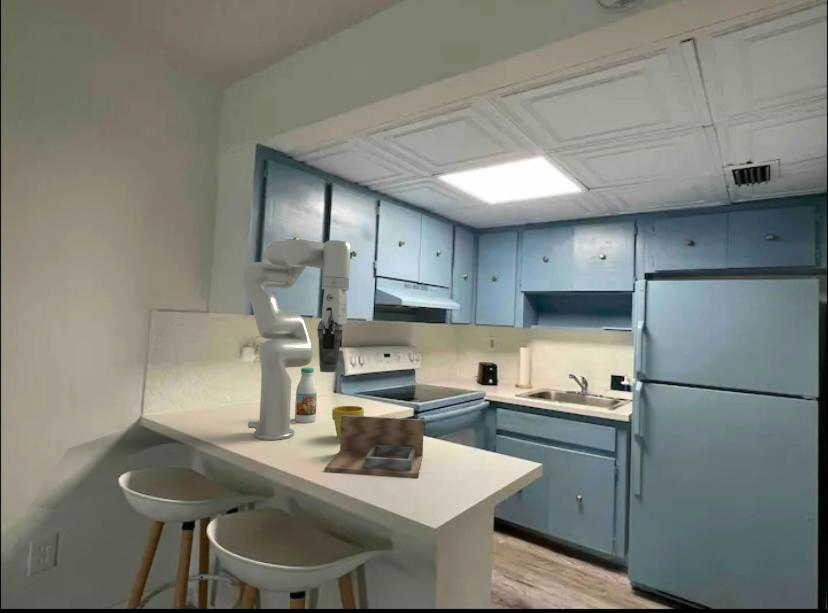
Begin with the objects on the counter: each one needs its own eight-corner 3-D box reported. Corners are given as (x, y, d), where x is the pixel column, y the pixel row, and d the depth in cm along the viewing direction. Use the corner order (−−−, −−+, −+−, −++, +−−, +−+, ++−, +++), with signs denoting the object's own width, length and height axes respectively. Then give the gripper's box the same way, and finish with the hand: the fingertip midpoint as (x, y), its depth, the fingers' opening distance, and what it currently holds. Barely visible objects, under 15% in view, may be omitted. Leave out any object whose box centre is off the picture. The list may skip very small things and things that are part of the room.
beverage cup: (334, 373, 120) (337, 300, 121) (309, 371, 122) (313, 299, 123) (345, 370, 127) (348, 301, 128) (322, 369, 129) (325, 300, 130)
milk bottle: (290, 421, 166) (292, 367, 167) (305, 417, 173) (308, 366, 173) (304, 424, 162) (306, 369, 163) (319, 420, 168) (322, 368, 169)
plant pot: (324, 438, 144) (325, 408, 145) (346, 432, 153) (347, 404, 153) (347, 444, 138) (348, 413, 139) (369, 438, 147) (370, 408, 147)
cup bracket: (324, 471, 114) (326, 428, 114) (340, 452, 129) (342, 415, 130) (418, 477, 111) (419, 433, 112) (422, 458, 127) (423, 419, 128)
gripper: (340, 282, 116) (337, 350, 116) (355, 287, 134) (352, 346, 133) (312, 281, 117) (309, 349, 117) (330, 286, 134) (328, 345, 134)
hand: (332, 347), depth 125 cm, fingers closed on beverage cup, 7 cm apart
